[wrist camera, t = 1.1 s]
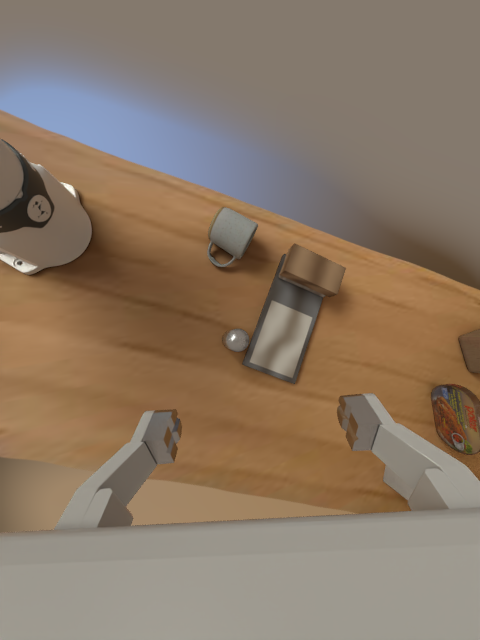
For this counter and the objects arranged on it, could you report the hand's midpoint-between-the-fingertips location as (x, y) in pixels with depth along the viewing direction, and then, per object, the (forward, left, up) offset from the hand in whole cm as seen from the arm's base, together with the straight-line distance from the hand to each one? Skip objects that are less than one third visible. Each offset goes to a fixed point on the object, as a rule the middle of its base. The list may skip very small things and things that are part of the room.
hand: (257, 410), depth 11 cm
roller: (+2, +4, -34) cm, 35 cm away
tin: (+57, +6, -34) cm, 67 cm away
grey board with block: (+12, +13, -34) cm, 39 cm away
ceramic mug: (-6, +23, -35) cm, 42 cm away
